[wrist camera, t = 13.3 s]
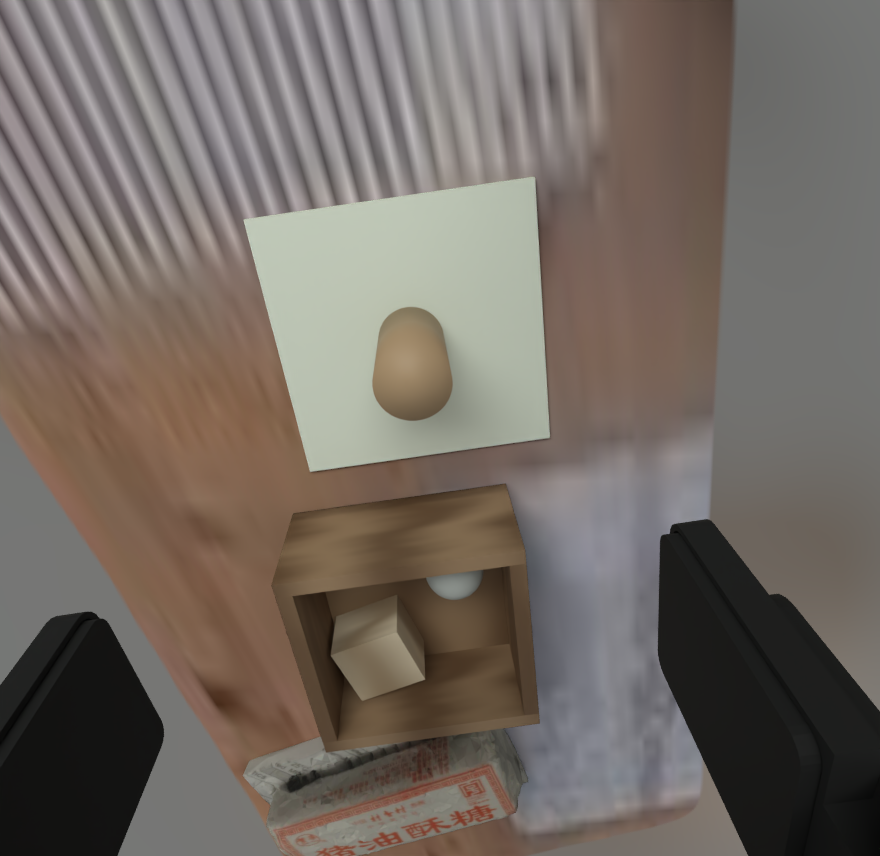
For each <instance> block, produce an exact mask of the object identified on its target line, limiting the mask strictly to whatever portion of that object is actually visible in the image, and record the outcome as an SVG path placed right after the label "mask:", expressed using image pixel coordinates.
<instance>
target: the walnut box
mask: <svg viewBox="0 0 880 856" xmlns="http://www.w3.org/2000/svg"><path fill="white" fill-rule="evenodd" d="M477 570H483V577H482V581H481V583H480V585H479V587H478V588H477V589H476V591H475V592H473V593H472V594H471V595H470V596H468V597H466V598H463V599H459V600H449V599H445V598H443V597H441V596H439V595H438V594H436V593H435V592H434V591H433V590H432V589H431V587H430V586H429V584H428V582H427V579H426V578H427V577H434V576H441V575H448V574H456V573H463V572H470V571H477ZM271 586H272V589H273V592H274V595H275V598H276V601H277V604H278V607H279V610H280V613H281V616H282V619H283V622H284V625H285V629H286V632H287V635H288V638H289V641H290V644H291V647H292V650H293V653H294V656H295V659H296V662H297V665H298V668H299V671H300V674H301V678H302V681H303V684H304V687H305V690H306V693H307V696H308V699H309V702H310V705H311V708H312V711H313V714H314V717H315V720H316V724H317V727H318V730H319V733H320V736H321V739H322V742H323V745H324V748H325V751H326V753H327V752H334V751H342V750H349V749H356V748H364V747H371V746H378V745H385V744H393V743H400V742H407V741H415V740H422V739H429V738H437V737H444V736H451V735H459V734H466V733H473V732H480V731H488V730H495V729H502V728H510V727H517V726H524V725H532V724H539V723H540V721H539V709H538V697H537V685H536V673H535V661H534V649H533V637H532V626H531V614H530V602H529V590H528V578H527V566H526V554H525V548H524V544H523V541H522V538H521V534H520V531H519V528H518V524H517V521H516V517H515V514H514V511H513V507H512V504H511V500H510V497H509V494H508V490H507V487H506V484H500V485H493V486H486V487H479V488H472V489H465V490H458V491H450V492H443V493H436V494H429V495H422V496H415V497H408V498H401V499H393V500H386V501H379V502H372V503H365V504H358V505H351V506H344V507H337V508H329V509H322V510H315V511H308V512H301V513H294V514H293V516H292V519H291V522H290V526H289V529H288V532H287V536H286V539H285V542H284V545H283V549H282V552H281V555H280V559H279V562H278V565H277V569H276V572H275V575H274V579H273V582H272V585H271ZM394 595H398V597H399V598H400V600H401V602H402V603H403V605H404V607H405V609H406V610H407V612H408V614H409V616H410V617H411V619H412V621H413V622H414V624H415V626H416V628H417V629H418V631H419V633H420V634H421V636H422V638H423V640H424V659H425V680H422V681H419V682H416V683H413V684H411V685H408V686H405V687H402V688H399V689H396V690H393V691H390V692H387V693H384V694H381V695H378V696H375V697H373V698H370V699H367V700H364V701H362V700H361V699H360V697H359V696H358V694H357V693H356V692H355V690H354V689H353V687H352V686H351V684H350V683H349V681H348V680H347V678H346V677H345V676H344V674H343V673H342V671H341V670H340V668H339V667H338V665H337V664H336V663H335V661H334V660H333V658H332V657H331V649H332V642H333V635H334V628H335V621H336V616H339V615H342V614H345V613H347V612H350V611H353V610H356V609H358V608H361V607H364V606H367V605H369V604H372V603H375V602H378V601H380V600H383V599H386V598H389V597H391V596H394Z"/></svg>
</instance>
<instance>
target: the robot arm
mask: <svg viewBox="0 0 880 856" xmlns="http://www.w3.org/2000/svg"><path fill="white" fill-rule="evenodd" d="M658 656H659V661H660V665H661V669H662V671H663V674H664V676H665V678H666V681H667V683H668V685H669V687H670V689H671V691H672V693H673V696H674V698H675V700H676V702H677V704H678V706H679V708H680V711H681V713H682V715H683V717H684V719H685V721H686V723H687V726H688V728H689V730H690V732H691V734H692V736H693V738H694V741H695V743H696V745H697V747H698V749H699V751H700V753H701V756H702V758H703V760H704V762H705V764H706V766H707V768H708V771H709V773H710V775H711V777H712V779H713V781H714V783H715V786H716V788H717V789H718V792H719V794H720V796H721V798H722V800H723V803H724V804H725V807H726V809H727V811H728V813H729V815H730V818H731V820H732V822H733V824H734V826H735V828H736V831H737V833H738V835H739V837H740V839H741V841H742V843H743V846H744V848H745V850H746V852H747V854H748V856H880V711H879V710H878V709H877V707H876V706H875V705H874V704H873V703H872V701H871V700H870V699H869V698H868V696H867V695H866V694H865V693H864V691H863V690H862V689H861V688H860V686H859V685H858V684H857V683H856V682H855V680H854V679H853V678H852V677H851V675H850V674H849V673H848V672H847V670H846V669H845V668H844V667H843V666H842V664H841V663H840V662H839V661H838V659H837V658H836V657H835V656H834V654H833V653H832V652H831V651H830V649H829V648H828V647H827V646H826V644H825V643H824V642H823V641H822V640H821V638H820V637H819V636H818V635H817V633H816V632H815V631H814V630H813V628H812V627H811V626H810V625H809V624H808V622H807V621H806V620H805V619H804V617H803V616H802V615H801V614H800V612H799V611H798V610H797V609H796V607H795V606H794V605H793V604H792V603H791V602H790V601H789V600H788V599H787V598H786V597H784V596H782V595H780V594H773V595H769V594H768V593H767V592H766V590H765V589H764V588H763V586H762V585H761V584H760V583H759V581H758V580H757V579H756V577H755V576H754V575H753V574H752V572H751V571H750V570H749V568H748V567H747V566H746V565H745V563H744V562H743V561H742V559H741V558H740V557H739V556H738V554H737V553H736V552H735V550H734V549H733V548H732V546H731V545H730V544H729V543H728V541H727V540H726V539H725V537H724V536H723V535H722V534H721V532H720V531H719V530H718V528H717V527H716V526H715V524H713V523H712V521H710V520H708V519H705V520H698V521H692V522H685V523H678V524H674V525H672V527H671V529H670V534H666V535H662V536H661V539H660V574H659V621H658ZM163 737H164V728H163V724H162V721H161V719H160V717H159V715H158V713H157V712H156V710H155V708H154V707H153V704H152V702H151V700H150V699H149V697H148V695H147V693H146V691H145V689H144V688H143V686H142V684H141V682H140V680H139V678H138V677H137V675H136V673H135V671H134V669H133V667H132V665H131V664H130V662H129V660H128V658H127V656H126V654H125V653H124V651H123V649H122V647H121V645H120V643H119V642H118V640H117V638H116V636H115V634H114V632H113V631H112V629H111V627H110V625H109V623H108V622H107V621H106V620H104V619H99V617H98V616H97V615H96V614H95V613H93V612H82V613H75V614H69V615H62V616H56V617H54V618H51V619H50V620H49V621H48V622H47V623H46V624H45V626H44V627H43V628H42V630H41V631H40V633H39V634H38V635H37V637H36V638H35V639H34V640H33V642H32V643H31V645H30V646H29V647H28V649H27V650H26V651H25V653H24V654H23V655H22V657H21V658H20V659H19V661H18V662H17V663H16V665H15V666H14V667H13V669H12V670H11V672H10V673H9V674H8V676H7V677H6V678H5V680H4V681H3V682H2V684H1V685H0V856H117V855H118V853H119V850H120V848H121V845H122V843H123V840H124V838H125V835H126V833H127V830H128V828H129V826H130V823H131V820H132V818H133V816H134V813H135V811H136V808H137V806H138V803H139V801H140V798H141V796H142V793H143V791H144V788H145V786H146V783H147V781H148V779H149V776H150V774H151V771H152V768H153V766H154V764H155V761H156V759H157V756H158V753H159V751H160V749H161V746H162V743H163Z"/></svg>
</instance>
